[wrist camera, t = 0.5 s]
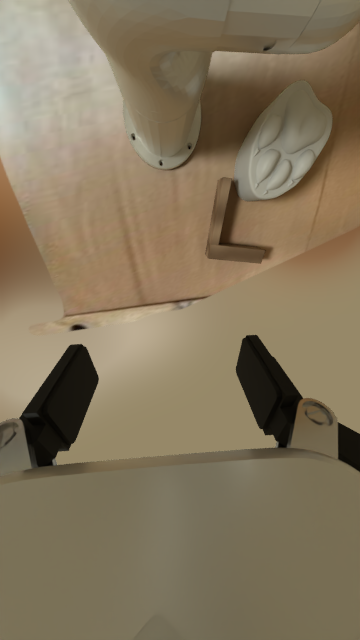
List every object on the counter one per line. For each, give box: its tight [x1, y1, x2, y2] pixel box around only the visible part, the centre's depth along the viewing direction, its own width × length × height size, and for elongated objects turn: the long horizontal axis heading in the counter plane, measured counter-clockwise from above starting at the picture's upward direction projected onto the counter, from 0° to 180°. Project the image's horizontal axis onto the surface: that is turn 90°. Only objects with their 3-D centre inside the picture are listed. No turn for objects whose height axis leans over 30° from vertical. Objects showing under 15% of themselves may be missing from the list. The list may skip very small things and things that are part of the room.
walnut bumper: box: [205, 177, 265, 264], centre depth 36 cm, size 14×12×4 cm
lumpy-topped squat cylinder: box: [234, 80, 332, 201], centre depth 29 cm, size 10×13×9 cm
